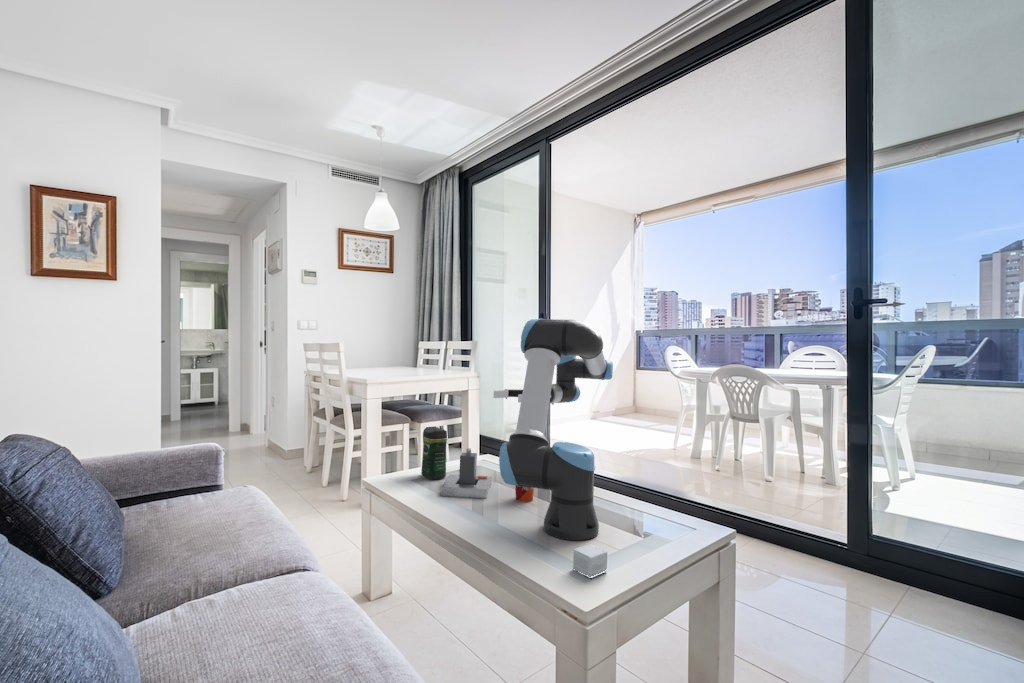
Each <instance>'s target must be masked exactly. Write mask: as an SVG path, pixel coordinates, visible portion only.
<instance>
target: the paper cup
mask: <svg viewBox="0 0 1024 683" xmlns="http://www.w3.org/2000/svg"><path fill="white" fill-rule="evenodd" d="M514 487H515V500H516V501H518V502H519V503H520V502H521V503H530V502H532V501H533V500H534V491H535V488H531V487H523V486H520V487H518V486H515V485H514Z"/></svg>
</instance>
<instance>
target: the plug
mask: <svg viewBox="0 0 1024 683" xmlns="http://www.w3.org/2000/svg"><path fill="white" fill-rule="evenodd" d="M465 450H466V452H461V454H460V455H459V474H458V475H459V484H466V485H476V476H477V463H478V461H477V459H478V457H477V456H478V453H477V452H472V448H470V447H468V448H466V449H465Z"/></svg>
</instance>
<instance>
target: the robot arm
mask: <svg viewBox="0 0 1024 683" xmlns="http://www.w3.org/2000/svg"><path fill="white" fill-rule="evenodd" d="M603 349H604V342H603V338H602V337H601V334H600V333H599V332H598V331H597V330H596V329H595V328H593V327H592V326H590V325H589V324H587V323H585V322H584V321H580V320H576V319H554V318H553V319H544V318H535V319H529V320H528V321H527V322H525V324H524V326H523V329H522V332H521V336H520V350H521V352H522V353H523V354H524V358H525V360H526V361H527V366H526V369H525V370H526V371H525V377H524V382H523V389H507V388H505V389H501V390H500V389H499V390H493V399H502V398H503V399H504V398H505V399H508V398H517V403H520V405H519V411H518V416H517V417H518V418H517V423H516V428H515V429H516V430H515V431H514V432H512V433H511V434H510V435H509V439H508V442H506V441H505V442H503V443H502V444H501V446H500V449H499V455H498V456H499V457H498V459H499V460H498V462H499V472H500V476H501V479H502V480H503V482H504V483H505V484H507V485H511V486H514V487H515V486H518V487H520V486H523V487H531V488H534V489H540V490H547V491H548V490H549V491H550V492H551V493H550V494H551V496H550V502H549V506H548V507H547V511H546V514H545V515H544V519H543V530H544V531H545V532H546V533H547V534H548V535H550V536H553V537H555V538H557V539H562V540H568V541H587V540H591V539H593V537H594V538H595V536H596V537H597V536H598V535H599V533H598V532H599V528H600V527H599V526H600V525H599V519H598V516H597V513H596V509H595V506H594V490H595V489H594V485H595V483H594V482H595V470H596V466H595V454H594V452H593V450H591V449H590V448H588V447H586V446H583V445H580V444H577V443H573V442H566V441H565V442H563V441H557V442H554V443H553V445H552V446H551V447H550V446H549V444H550V442H549V440H548V438H547V437H546V435H545V434H546V429H547V421H548V415H549V408H550V407H549V406H550V404H551V405H553V406H554V405H555V404H562V403H570V402H571V403H573V402H576V401H577V400H578V399H579V398H580V396H581V390H580V386H579V385H578V384H576V379H589V380H602V381H605V380H606V381H607V380H611V379H612V378H613V373H614V371H613V370H614V364H613V361H612V360H607V359H606V358H605V354H604V353H603ZM577 357H579V358H577ZM555 366H556V373H555ZM554 373H555V374H556V378H555V383H553V380H554ZM597 534H598V535H597ZM590 538H591V539H590ZM585 539H586V540H585Z"/></svg>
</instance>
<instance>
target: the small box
mask: <svg viewBox="0 0 1024 683" xmlns="http://www.w3.org/2000/svg"><path fill="white" fill-rule="evenodd" d="M572 554H573V555H572V560H573V561H572V570H573V569H575V570H576V571H579V572H581V573H583V574H585V575H588V576H589V577H591V576H594V575H596V574H599V573H601V572H603V571H605V570H606V569H607V570H608V551H607V550H604V549H602V548H600V547H598V546H595V545H593V544H591V543H588V544H585V545H583V546H580V547H577V548H574V549H573V552H572ZM576 571H575V572H576Z"/></svg>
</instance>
